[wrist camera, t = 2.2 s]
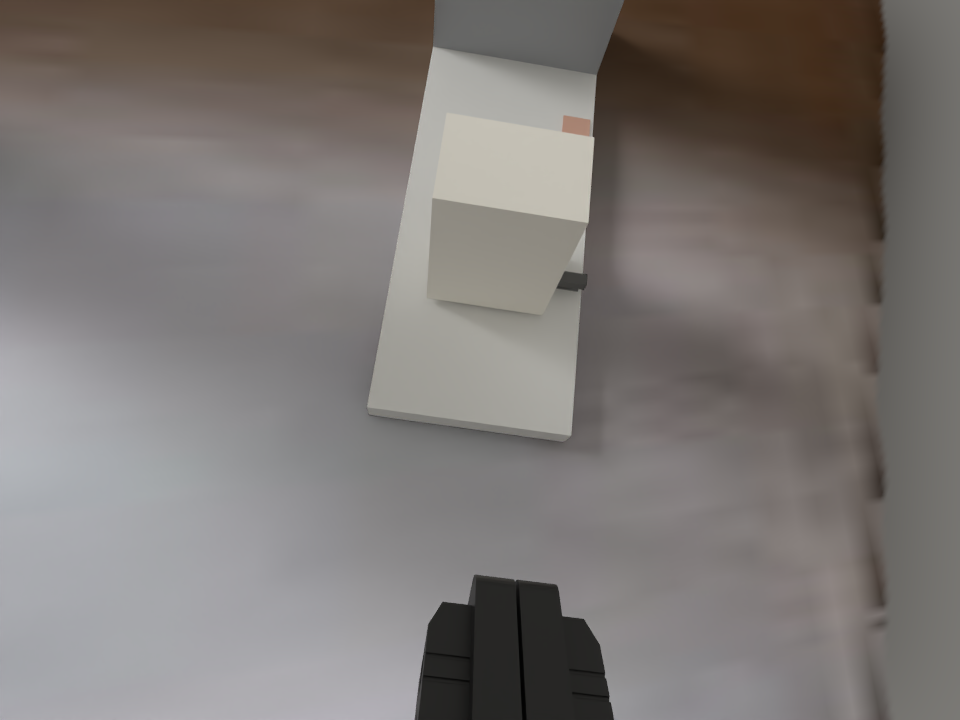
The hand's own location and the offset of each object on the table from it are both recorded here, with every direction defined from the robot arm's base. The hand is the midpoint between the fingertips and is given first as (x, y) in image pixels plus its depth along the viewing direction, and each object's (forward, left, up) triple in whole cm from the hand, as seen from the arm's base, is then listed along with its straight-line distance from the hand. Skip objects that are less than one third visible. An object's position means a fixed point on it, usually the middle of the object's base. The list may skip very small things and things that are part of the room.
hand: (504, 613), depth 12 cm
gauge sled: (+1, +16, -17) cm, 24 cm away
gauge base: (0, +22, -19) cm, 29 cm away
